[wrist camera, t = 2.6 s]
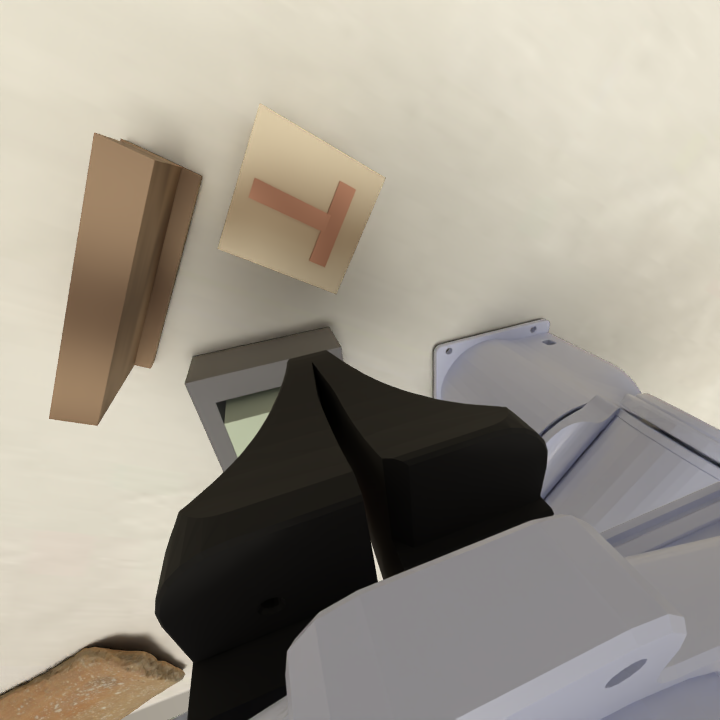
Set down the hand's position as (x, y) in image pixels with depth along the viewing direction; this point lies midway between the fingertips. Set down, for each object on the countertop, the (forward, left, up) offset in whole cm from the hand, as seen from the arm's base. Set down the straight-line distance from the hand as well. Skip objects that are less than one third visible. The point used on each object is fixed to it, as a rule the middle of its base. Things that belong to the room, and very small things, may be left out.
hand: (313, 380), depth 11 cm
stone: (+25, +31, -10) cm, 41 cm away
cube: (-1, -5, -10) cm, 11 cm away
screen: (+6, -3, -9) cm, 12 cm away
